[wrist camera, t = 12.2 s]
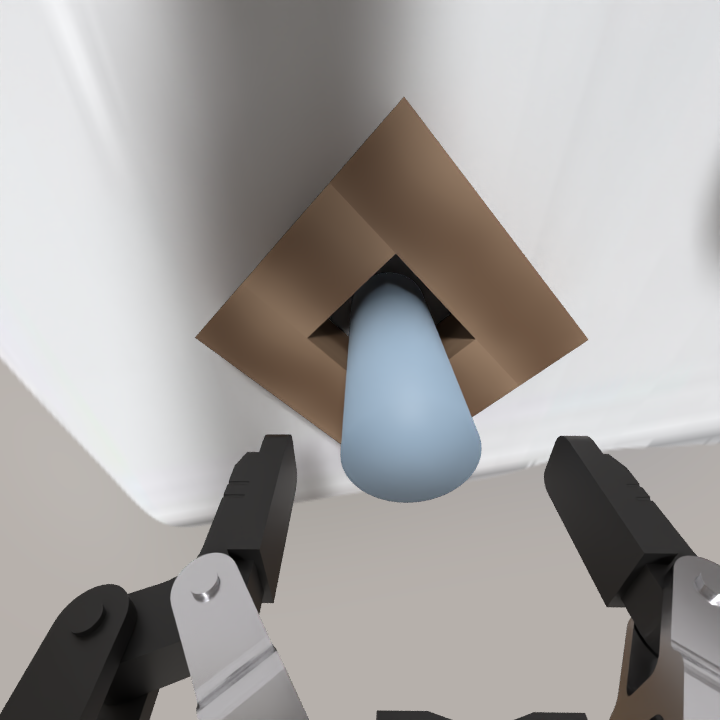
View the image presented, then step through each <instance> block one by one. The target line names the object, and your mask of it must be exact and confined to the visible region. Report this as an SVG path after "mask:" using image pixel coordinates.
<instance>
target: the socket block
mask: <svg viewBox="0 0 720 720" xmlns="http://www.w3.org/2000/svg"><path fill="white" fill-rule="evenodd" d="M395 254H397V255H398V256H399V257H400V259H401V260H402V261H403V262H404V263H405V264H406V265H407V266H408V267H409V268H410V269H411V270H412V271H413V272H414V274H415V275H416V276H417V277H418V278H419V279H420V280H421V281H422V282H423V283H424V284H425V285H426V286H427V287H428V289H429V290H430V291H431V292H432V293H433V294H434V295H435V296H436V297H437V298H438V299H439V300H440V301H441V302H442V304H443V305H444V306H445V307H446V308H447V309H448V310H449V311H450V312H451V314H450V315H449V316H448V317H447V318H445V319H444V320H443V321H442V322H440V323H439V324H438V325H437V326H435V327H436V329H437V332H438V334H439V337H440V339H441V342H442V344H443V347H444V349H445V352H446V354H447V357H448V359H449V362H450V364H451V367H452V369H453V372H454V374H455V377H456V379H457V382H458V384H459V386H460V389H461V391H462V394H463V396H464V399H465V401H466V404H467V406H468V409H469V411H470V414H471V416H472V417H473V416H475V415H476V414H478V413H479V412H481V411H482V410H484V409H485V408H487V407H488V406H490V405H491V404H493V403H494V402H496V401H497V400H499V399H500V398H502V397H503V396H505V395H506V394H508V393H509V392H511V391H512V390H514V389H515V388H517V387H518V386H520V385H521V384H523V383H524V382H526V381H527V380H529V379H530V378H532V377H533V376H535V375H536V374H538V373H539V372H541V371H542V370H544V369H545V368H547V367H548V366H550V365H551V364H553V363H554V362H556V361H557V360H559V359H560V358H562V357H563V356H565V355H566V354H568V353H569V352H571V351H572V350H574V349H575V348H577V347H578V346H580V345H581V344H583V343H584V342H586V341H587V340H588V338H587V337H586V336H585V334H584V333H583V332H582V330H581V329H580V328H579V327H578V325H577V324H576V323H575V321H574V320H573V319H572V317H571V316H570V315H569V313H568V312H567V311H566V309H565V308H564V307H563V305H562V304H561V303H560V301H559V300H558V299H557V298H556V296H555V295H554V294H553V292H552V291H551V290H550V288H549V287H548V286H547V284H546V283H545V282H544V280H543V279H542V278H541V276H540V275H539V274H538V272H537V271H536V270H535V269H534V267H533V266H532V265H531V263H530V262H529V261H528V259H527V258H526V257H525V255H524V254H523V253H522V251H521V250H520V249H519V247H518V246H517V245H516V244H515V242H514V241H513V240H512V238H511V237H510V236H509V234H508V233H507V232H506V230H505V229H504V228H503V226H502V225H501V224H500V222H499V221H498V220H497V218H496V217H495V216H494V215H493V213H492V212H491V211H490V209H489V208H488V207H487V205H486V204H485V203H484V201H483V200H482V199H481V197H480V196H479V195H478V193H477V192H476V191H475V189H474V188H473V187H472V186H471V184H470V183H469V182H468V180H467V179H466V178H465V176H464V175H463V174H462V172H461V171H460V170H459V168H458V167H457V166H456V164H455V163H454V162H453V160H452V159H451V158H450V157H449V155H448V154H447V153H446V151H445V150H444V149H443V147H442V146H441V145H440V143H439V142H438V141H437V139H436V138H435V137H434V135H433V134H432V133H431V132H430V130H429V129H428V128H427V126H426V125H425V124H424V122H423V121H422V120H421V118H420V117H419V116H418V114H417V113H416V112H415V110H414V109H413V108H412V106H411V105H410V104H409V103H408V101H407V100H406V99H405V97H403V99H402V100H401V101H400V102H399V103H398V104H397V105H396V107H395V108H394V109H393V110H392V111H391V112H390V114H389V115H388V116H387V117H386V118H385V119H384V120H383V122H382V123H381V124H380V125H379V126H378V127H377V129H376V130H375V131H374V132H373V133H372V134H371V135H370V137H369V138H368V139H367V140H366V141H365V142H364V143H363V145H362V146H361V147H360V148H359V149H358V150H357V152H356V153H355V154H354V155H353V156H352V157H351V158H350V160H349V161H348V162H347V163H346V164H345V165H344V167H343V168H342V169H341V170H340V171H339V172H338V173H337V175H336V176H335V177H334V178H333V179H332V180H331V182H330V183H329V184H328V185H327V186H326V187H325V188H324V190H323V191H322V192H321V193H320V194H319V195H318V196H317V198H316V199H315V200H314V201H313V202H312V203H311V205H310V206H309V207H308V208H307V209H306V210H305V211H304V213H303V214H302V215H301V216H300V217H299V218H298V220H297V221H296V222H295V223H294V224H293V225H292V226H291V228H290V229H289V230H288V231H287V232H286V233H285V235H284V236H283V237H282V238H281V239H280V240H279V241H278V243H277V244H276V245H275V246H274V247H273V248H272V250H271V251H270V252H269V253H268V254H267V255H266V256H265V258H264V259H263V260H262V261H261V262H260V263H259V264H258V266H257V267H256V268H255V269H254V270H253V271H252V273H251V274H250V275H249V276H248V277H247V278H246V279H245V281H244V282H243V283H242V284H241V285H240V286H239V288H238V289H237V290H236V291H235V292H234V293H233V294H232V296H231V297H230V298H229V299H228V300H227V301H226V303H225V304H224V305H223V306H222V307H221V308H220V309H219V311H218V312H217V313H216V314H215V315H214V316H213V318H212V319H211V320H210V321H209V322H208V323H207V324H206V326H205V327H204V328H203V329H202V330H201V331H200V332H199V334H198V335H197V336H196V337H195V338H196V339H198V340H199V341H200V342H202V343H203V344H205V345H206V346H207V347H209V348H210V349H211V350H213V351H214V352H215V353H217V354H218V355H220V356H221V357H222V358H224V359H225V360H226V361H228V362H229V363H231V364H232V365H233V366H235V367H236V368H237V369H239V370H240V371H241V372H243V373H244V374H246V375H247V376H248V377H250V378H251V379H252V380H254V381H255V382H257V383H258V384H259V385H261V386H262V387H263V388H265V389H266V390H267V391H269V392H270V393H272V394H273V395H274V396H276V397H277V398H278V399H280V400H281V401H283V402H284V403H285V404H287V405H288V406H289V407H291V408H292V409H293V410H295V411H296V412H298V413H299V414H300V415H302V416H303V417H304V418H306V419H307V420H309V421H310V422H311V423H313V424H314V425H315V426H317V427H318V428H319V429H321V430H322V431H324V432H325V433H326V434H328V435H329V436H330V437H332V438H333V439H334V440H336V441H337V442H339V443H340V444H341V442H342V428H343V414H344V400H345V386H346V372H347V358H348V344H349V336H347V335H346V334H345V333H344V332H343V331H342V330H341V329H340V328H338V327H337V326H336V325H335V324H334V323H333V322H332V321H331V320H329V319H328V318H329V317H330V316H331V315H332V314H333V313H334V312H335V311H336V310H337V309H338V308H339V307H340V306H341V305H342V304H343V303H345V302H346V301H347V300H348V299H349V298H350V297H351V296H352V295H353V294H354V293H355V292H356V291H357V290H358V289H359V288H360V287H361V286H362V285H363V284H364V283H365V282H367V281H368V280H369V279H370V278H371V277H372V276H373V275H374V274H375V273H376V272H377V271H378V270H379V269H380V268H381V267H382V266H383V265H384V264H385V263H386V262H388V261H389V260H390V259H391V258H392V257H393V256H394V255H395Z"/></svg>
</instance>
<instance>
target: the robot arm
mask: <svg viewBox="0 0 720 720" xmlns="http://www.w3.org/2000/svg"><path fill="white" fill-rule="evenodd" d="M544 482H545V486H546V490H547V492H548V494H549V496H550V498H551V500H552V502H553V504H554V506H555V508H556V510H557V512H558V514H559V516H560V517H561V519H562V521H563V523H564V525H565V527H566V529H567V531H568V533H569V535H570V537H571V539H572V541H573V543H574V545H575V547H576V549H577V550H578V552H579V554H580V556H581V558H582V560H583V562H584V564H585V566H586V568H587V570H588V572H589V574H590V576H591V578H592V580H593V581H594V583H595V585H596V587H597V589H598V591H599V593H600V595H601V597H602V599H603V601H604V603H605V605H606V606H607V607H626V609H627V611H628V612H629V614H630V616H631V618H630V620H629V622H628V624H627V630H626V638H625V646H624V653H623V661H622V669H621V676H620V684H619V692H618V697H617V702H616V705H615V708H614V710H613V712H612V714H611V717H610V719H609V720H720V565H718V564H716V563H714V562H712V561H710V560H707V559H705V558H701V557H698V556H697V555H696V554H695V553H694V552H693V551H692V549H691V548H690V547H689V546H688V544H687V543H686V542H685V541H684V539H683V538H682V537H681V536H680V534H679V533H678V532H677V531H676V529H675V528H674V527H673V526H672V524H671V523H670V522H669V520H668V519H667V518H666V517H665V515H664V514H663V513H662V512H661V510H660V509H659V508H658V507H657V505H656V504H655V503H654V502H653V501H651V500H650V497H649V495H648V494H647V493H646V492H645V490H644V489H643V488H642V487H640V486H639V483H638V482H637V480H636V479H635V478H634V476H633V475H632V474H631V473H630V471H629V470H628V469H627V468H626V467H625V466H624V465H622V464H621V463H620V462H618V461H617V460H616V459H614V458H613V457H612V456H610V455H609V454H603V453H602V452H601V450H600V449H599V448H598V446H597V445H596V444H595V442H594V441H593V440H592V439H591V438H590V437H588V436H560V437H558V438H557V440H556V442H555V445H554V447H553V450H552V453H551V455H550V458H549V461H548V463H547V466H546V469H545V472H544ZM296 483H297V469H296V462H295V455H294V448H293V441H292V436H291V435H265V437H264V439H263V442H262V445H261V448H260V451H259V452H247V453H246V454H245V455H244V456H243V457H242V459H241V460H240V461H239V462H238V463H237V464H236V465H235V467H234V469H233V472H232V474H231V477H230V480H229V484H228V485H227V487H226V490H225V492H224V497H223V498H222V500H221V502H220V505H219V507H218V510H217V512H216V515H215V518H214V520H213V523H212V525H211V528H210V530H209V533H208V535H207V538H206V540H205V543H204V545H203V548H202V550H201V552H200V554H199V555H198V557H197V558H196V559H195V560H193V561H192V562H190V563H189V564H188V565H187V566H186V567H185V568H184V569H183V570H182V571H181V572H180V574H179V575H178V576H177V577H175V578H173V579H171V580H169V581H166V582H164V583H161V584H158V585H155V586H152V587H148V588H145V589H142V590H139V591H136V592H133V593H130V594H127V593H126V591H125V590H124V589H123V588H122V587H120V586H118V585H114V584H106V585H101V586H97V587H94V588H92V589H90V590H88V591H86V592H85V593H83V594H81V595H80V596H78V597H77V598H75V599H74V600H73V601H72V602H71V603H70V604H69V605H68V606H67V607H66V608H65V609H64V610H63V611H62V612H61V613H60V615H59V616H58V617H57V619H56V620H55V622H54V624H53V625H52V627H51V628H50V630H49V632H48V634H47V636H46V637H45V639H44V640H43V642H42V644H41V645H40V647H39V649H38V651H37V652H36V654H35V656H34V658H33V659H32V661H31V663H30V664H29V666H28V668H27V669H26V671H25V673H24V675H23V676H22V678H21V680H20V681H19V683H18V685H17V686H16V688H15V690H14V692H13V693H12V695H11V697H10V698H9V700H8V702H7V703H6V705H5V707H4V708H3V710H2V712H1V714H0V720H150V716H151V713H152V710H153V707H154V704H155V701H156V698H157V695H158V692H159V689H160V688H162V687H164V686H167V685H170V684H172V683H175V682H177V681H180V680H182V679H185V678H187V677H190V676H191V679H192V682H193V686H194V690H195V694H196V698H197V718H198V720H309V719H308V716H307V714H306V712H305V710H304V708H303V706H302V703H301V701H300V699H299V697H298V695H297V692H296V690H295V688H294V686H293V684H292V682H291V679H290V677H289V675H288V673H287V671H286V668H285V666H284V664H283V662H282V660H281V658H280V656H279V654H278V652H277V650H276V648H275V647H274V646H273V644H272V642H271V640H270V638H269V636H268V634H267V631H266V629H265V627H264V625H263V622H262V620H261V618H260V616H259V613H260V608H261V604H262V603H274V598H275V592H276V588H277V583H278V578H279V573H280V567H281V562H282V557H283V552H284V547H285V542H286V537H287V532H288V526H289V521H290V516H291V511H292V506H293V501H294V496H295V491H296ZM376 720H451V719H448V718H445V717H443V716H440V715H437V714H434V713H431V712H429V711H377V718H376ZM515 720H587V717H586V715H585V713H544V712H543V713H542V712H537V713H536V712H533V713H531V714H528V715H526V716H523V717H521V718H518V719H515Z"/></svg>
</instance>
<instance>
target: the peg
mask: <svg viewBox="0 0 720 720" xmlns="http://www.w3.org/2000/svg"><path fill="white" fill-rule="evenodd" d="M480 456H481V441H480V436H479V434H478V431H477V429H476V426H475V424H474V421H473V419H472V416H471V414H470V411H469V409H468V406H467V404H466V401H465V399H464V396H463V394H462V391H461V389H460V386H459V384H458V382H457V379H456V377H455V374H454V372H453V369H452V367H451V364H450V362H449V359H448V357H447V354H446V352H445V349H444V347H443V344H442V342H441V339H440V337H439V334H438V332H437V329H436V327H435V324H434V322H433V319H432V317H431V314H430V312H429V309H428V307H427V304H426V302H425V299H424V297H423V294H422V292H421V290H420V288H419V287H418V286H417V284H416V283H415V282H414V281H412V280H411V279H410V278H408V277H406V276H404V275H401V274H397V273H381V274H377V275H374V276H372V277H371V278H370V279H369V280H368V281H367V282H365V283H364V284H363V285H362V286H361V287H360V288H359V289H358V290H357V291H356V292H355V294H354V296H353V299H352V303H351V316H350V330H349V344H348V358H347V372H346V386H345V400H344V414H343V428H342V442H341V463H342V466H343V469H344V471H345V473H346V475H347V476H348V478H349V479H350V480H351V481H352V482H353V483H354V484H355V485H356V486H357V487H358V488H359V489H361V490H362V491H364V492H366V493H367V494H370V495H372V496H374V497H377V498H380V499H383V500H387V501H394V502H404V503H406V502H407V503H408V502H421V501H426V500H431V499H434V498H437V497H440V496H442V495H445V494H447V493H449V492H451V491H453V490H454V489H456V488H457V487H459V486H460V485H462V484H463V483H464V482H465V481H466V480H467V479H468V478H469V477H470V476H471V475H472V473H473V472H474V470H475V469H476V467H477V465H478V463H479V460H480Z"/></svg>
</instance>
